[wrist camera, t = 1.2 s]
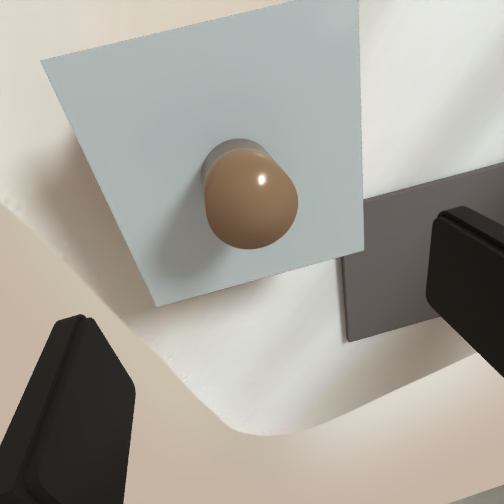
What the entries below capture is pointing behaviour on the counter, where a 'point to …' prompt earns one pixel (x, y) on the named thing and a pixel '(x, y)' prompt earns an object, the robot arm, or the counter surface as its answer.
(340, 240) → the lid
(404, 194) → the mat
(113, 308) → the counter surface
